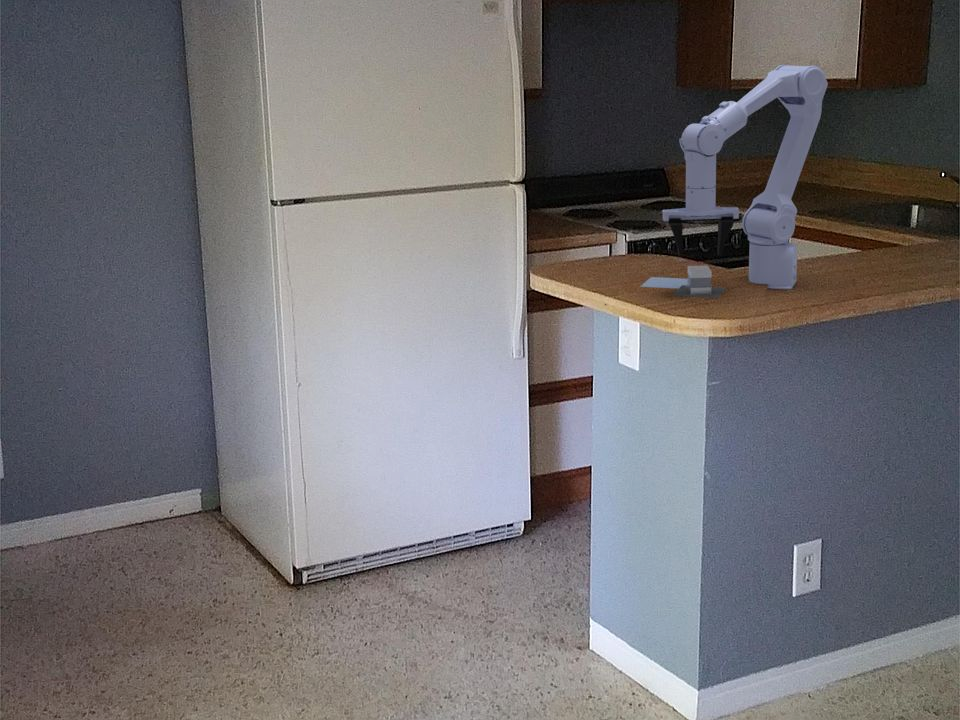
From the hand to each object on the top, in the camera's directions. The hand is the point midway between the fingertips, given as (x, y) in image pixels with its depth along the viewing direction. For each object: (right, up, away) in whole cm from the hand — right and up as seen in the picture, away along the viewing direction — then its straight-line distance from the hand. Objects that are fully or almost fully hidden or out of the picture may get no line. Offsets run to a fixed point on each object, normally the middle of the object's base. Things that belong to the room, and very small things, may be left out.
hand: (700, 255), depth 237 cm
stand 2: (0, -8, +2) cm, 8 cm away
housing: (0, -7, +2) cm, 7 cm away
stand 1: (-5, -5, +11) cm, 13 cm away
